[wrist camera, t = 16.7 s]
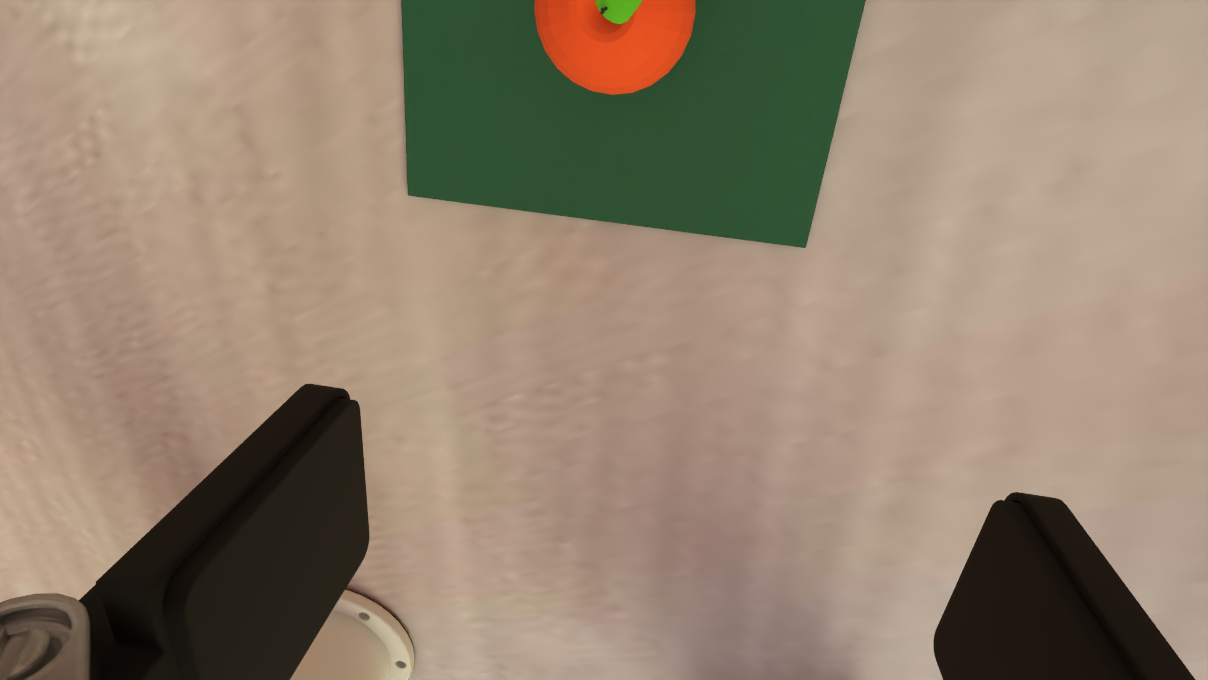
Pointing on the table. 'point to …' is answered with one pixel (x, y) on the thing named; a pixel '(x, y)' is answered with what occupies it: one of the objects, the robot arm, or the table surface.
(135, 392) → the table surface
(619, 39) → the clementine
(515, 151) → the cloth
